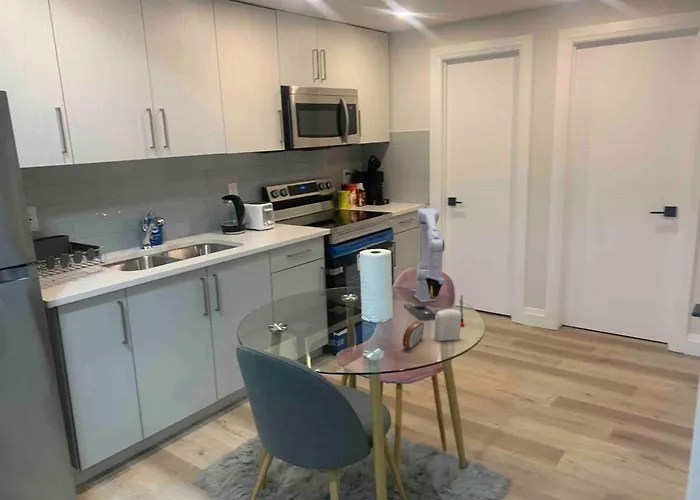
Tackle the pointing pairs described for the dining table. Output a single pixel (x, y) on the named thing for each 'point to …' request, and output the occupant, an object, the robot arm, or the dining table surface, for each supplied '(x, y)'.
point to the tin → (413, 334)
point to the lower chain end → (411, 306)
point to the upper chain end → (423, 312)
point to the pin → (432, 294)
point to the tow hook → (461, 311)
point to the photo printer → (447, 325)
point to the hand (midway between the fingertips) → (433, 295)
